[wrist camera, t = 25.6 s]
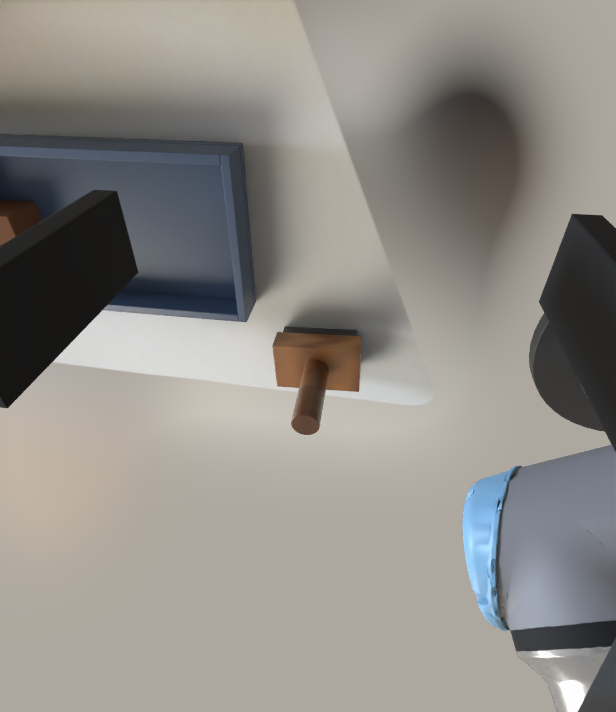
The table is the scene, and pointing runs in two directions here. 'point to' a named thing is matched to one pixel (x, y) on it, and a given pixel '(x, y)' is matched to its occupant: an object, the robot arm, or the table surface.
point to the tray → (153, 214)
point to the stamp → (316, 368)
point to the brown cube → (17, 218)
